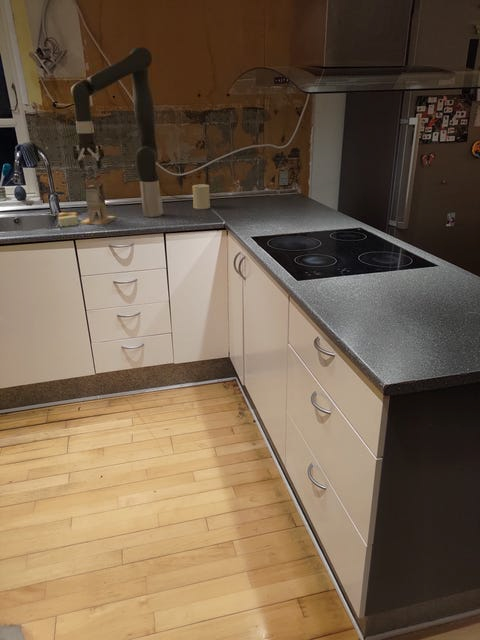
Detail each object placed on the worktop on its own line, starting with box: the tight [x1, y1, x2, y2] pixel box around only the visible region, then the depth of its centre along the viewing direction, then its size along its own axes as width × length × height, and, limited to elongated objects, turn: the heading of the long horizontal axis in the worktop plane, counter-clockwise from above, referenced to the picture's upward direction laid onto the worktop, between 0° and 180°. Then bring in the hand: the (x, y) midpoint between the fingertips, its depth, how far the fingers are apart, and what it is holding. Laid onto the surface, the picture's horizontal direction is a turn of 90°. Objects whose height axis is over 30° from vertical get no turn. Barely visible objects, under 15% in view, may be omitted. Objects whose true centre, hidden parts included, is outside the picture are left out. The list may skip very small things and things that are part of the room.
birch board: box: [79, 215, 117, 226], centre depth 239 cm, size 12×14×1 cm
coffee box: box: [84, 183, 108, 221], centre depth 235 cm, size 9×6×16 cm
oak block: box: [57, 211, 79, 220], centre depth 239 cm, size 8×4×4 cm, turn 88°
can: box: [191, 183, 211, 210], centre depth 262 cm, size 9×9×12 cm
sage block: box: [57, 215, 79, 228], centre depth 232 cm, size 8×4×4 cm, turn 125°
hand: (91, 168), depth 228 cm, fingers open, 8 cm apart
